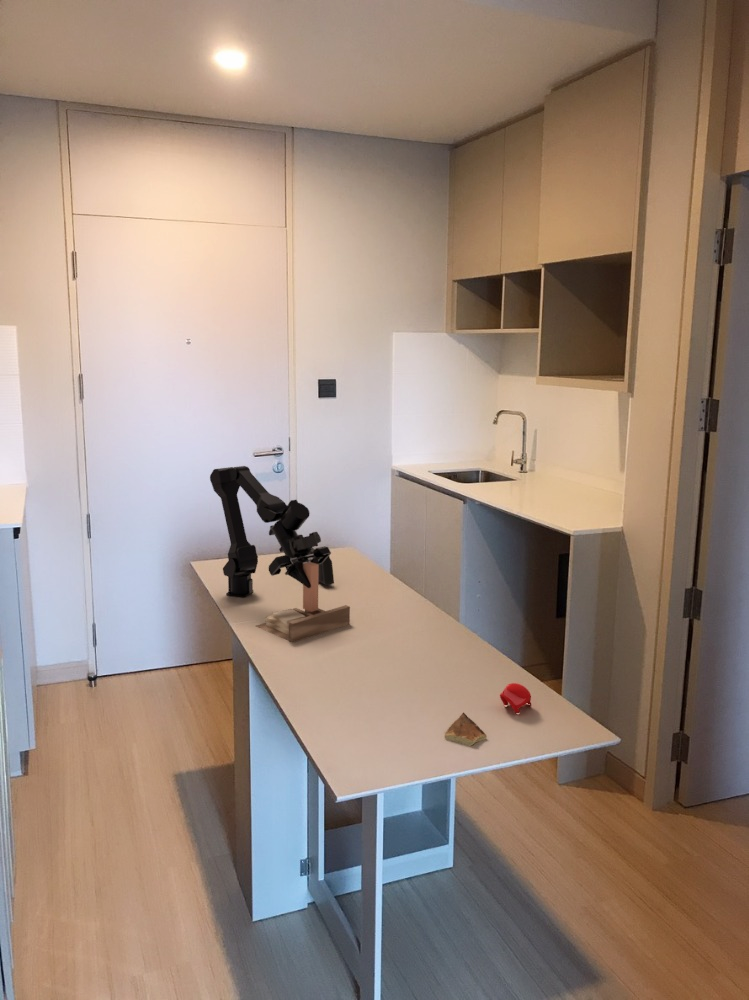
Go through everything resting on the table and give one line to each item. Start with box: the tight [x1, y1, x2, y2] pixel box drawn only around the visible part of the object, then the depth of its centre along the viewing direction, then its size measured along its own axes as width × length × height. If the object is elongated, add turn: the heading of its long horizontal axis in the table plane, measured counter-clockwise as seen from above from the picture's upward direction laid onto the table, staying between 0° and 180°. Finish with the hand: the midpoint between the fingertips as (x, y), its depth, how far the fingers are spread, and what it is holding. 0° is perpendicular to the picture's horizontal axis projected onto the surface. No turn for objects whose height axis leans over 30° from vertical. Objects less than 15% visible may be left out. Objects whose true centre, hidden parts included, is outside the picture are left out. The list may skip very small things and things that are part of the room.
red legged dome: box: [499, 682, 532, 714], centre depth 172 cm, size 8×6×6 cm
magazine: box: [298, 534, 335, 586], centre depth 264 cm, size 17×3×30 cm
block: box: [302, 562, 319, 612], centre depth 220 cm, size 4×2×13 cm
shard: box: [444, 712, 488, 747], centre depth 163 cm, size 11×8×2 cm
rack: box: [255, 604, 351, 643], centre depth 217 cm, size 16×20×6 cm
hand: (314, 586), depth 219 cm, fingers closed on block, 2 cm apart
